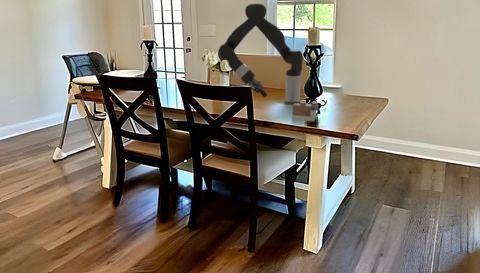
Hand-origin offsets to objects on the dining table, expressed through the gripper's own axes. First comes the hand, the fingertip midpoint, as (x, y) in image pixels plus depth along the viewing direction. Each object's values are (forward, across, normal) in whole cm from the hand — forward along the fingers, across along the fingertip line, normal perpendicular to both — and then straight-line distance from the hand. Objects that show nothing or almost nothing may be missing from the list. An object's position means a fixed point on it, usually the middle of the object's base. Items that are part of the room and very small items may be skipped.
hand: (266, 96), depth 233 cm
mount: (+24, 0, -7) cm, 25 cm away
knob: (+23, -3, -15) cm, 28 cm away
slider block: (+23, 0, -6) cm, 24 cm away
